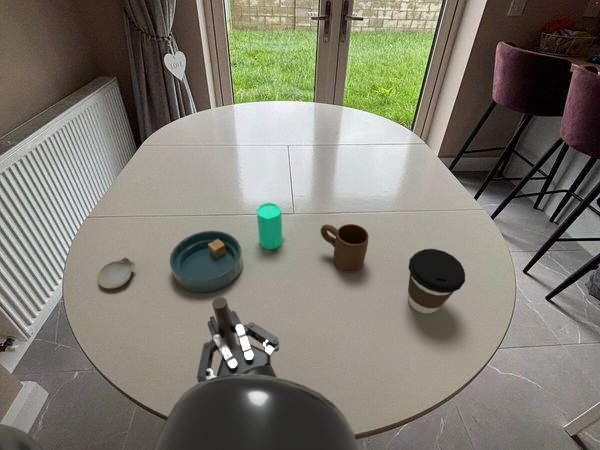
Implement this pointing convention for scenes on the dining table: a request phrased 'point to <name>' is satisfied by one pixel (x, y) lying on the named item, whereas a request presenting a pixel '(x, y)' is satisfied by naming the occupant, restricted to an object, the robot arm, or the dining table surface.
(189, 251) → the bowl
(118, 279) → the seashell
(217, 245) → the block
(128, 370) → the dining table surface
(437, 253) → the coffee cup
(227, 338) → the muddler
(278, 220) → the candle
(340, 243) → the mug
